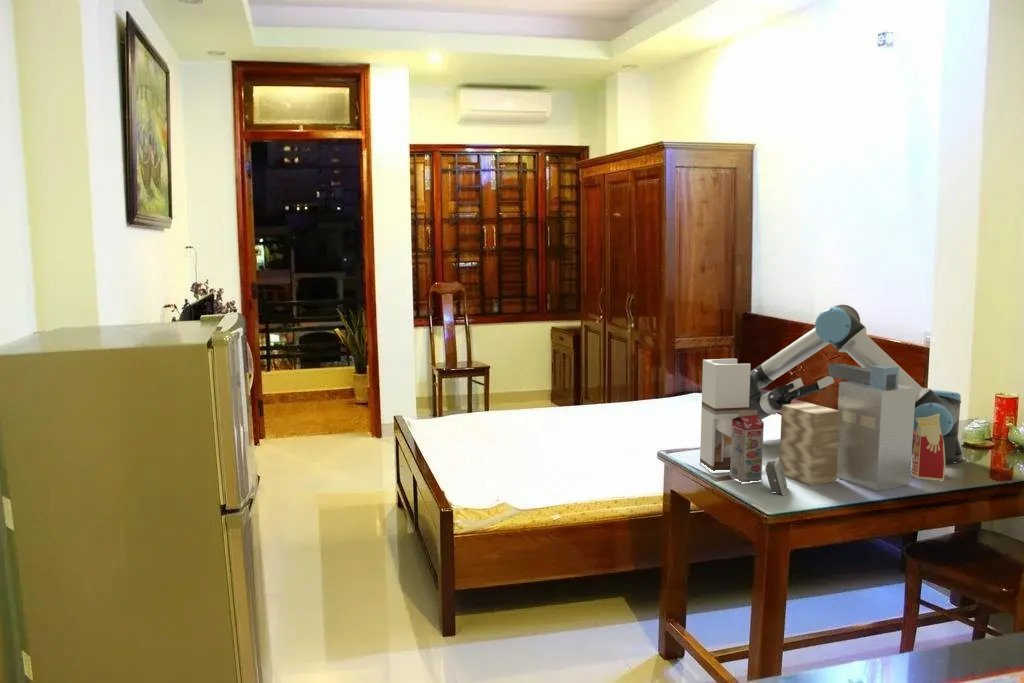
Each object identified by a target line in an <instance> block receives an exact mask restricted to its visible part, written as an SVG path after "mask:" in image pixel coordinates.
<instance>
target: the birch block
mask: <svg viewBox="0 0 1024 683" xmlns="http://www.w3.org/2000/svg"><path fill="white" fill-rule="evenodd" d="M780 417H781V418H780V441H779V442H780V443H779V458H780V460H781V463H782V467H783V470H784V474H786V475H785V476H787V475H788V476H787V477H789V476H790V478H792V477H793V478H792V479H794V480H797V481H800V482H802V483H804V484H805V483H806V484H808V485H811V486H814V485H820V484H825V483H831V482H836V481H837V480H838V479H837V478H838V477H837V462H838V444H839V425H840V411H838V409H835V408H830V407H826V406H822V405H818V404H815V403H812V402H811V403H810V402H808V401H804V402H796V403H791V404H786V405H782V410H781V415H780Z"/></svg>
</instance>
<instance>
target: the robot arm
mask: <svg viewBox="0 0 1024 683" xmlns="http://www.w3.org/2000/svg"><path fill="white" fill-rule="evenodd" d="M830 344H831V345H832V346H833V348H835V349H836V350H837V352H839V353H847V355H848V356H850V357H851V358H852V359H853V360H854V361H855V362H856V363H857V364H858V366H859V367H862V368H867V369H871V366H876V365H890V366H896V367H899V375H898V384H901V385H906V386H911V387H916V397H915V412H914V427H913V431H914V432H916V430H917V426H918V423H917V420H916V419H915V418H922V417H929V416H933V415H938V414H940V417H939V423H940V428H941V433H942V437H943V441H944V449H945V464H955V463H954V462H959V461H961V460H962V461H963V454H964V453H963V449H962V447H961V443H960V441H959V426H960V414H961V413H960V412H961V404H962V400H961V399H962V398H961V394H960V393H959V392H955V391H948V390H939V389H938V390H937V389H931V388H927V387H926V388H925V387H922V386H921V385H920V384H919V383H918V382H916V380H914V378H913V377H911V376H910V375H909V374H908V373H907V372H906V371H905V370H904V369H903V368H902V367H901V366H900V365H899V364H898V363H896V361H895V360H893V358H892V357H891V356H889V355H888V354H887V352H885V350H883V349H882V348H881V347H880V346H879V345H878V344H877V343H876V342H875V341H874V340H873V339H872V338H871V337H870V336H869V335H868V334H867V327H866V326H865V325H863V323H862V322H861V318H860V314H859V312H858V311H857V310H856V309H855V308H854V307H852V306H850V305H848V304H837V305H834V306H829V307H826V308H825V309H823V310H822V311H821V312H819V314H817V317H816V319H815V321H814V328H812V329H811V330H809V331H808V332H806V333H805V334H803V335H802V336H800V337H798V338H797V339H796V340H795V341H793V342H792V343H790V344H789V345H787V346H786V347H785V348H783V349H781V350H780V351H779V352H777V353H776V354H774V355H773V356H771V357H769V359H766V360H765V361H764V362H762V363H761V364H759V365H758V366H756V367H754V368H753V369H752V370H750V392H749V410H757V416H758V417H759V418H760V419H761V420H762V421H763V420H764V419H765V418H768V417H770V416H772V415H776V413H778V412H780V411H782V405H786V404H792V401H794V400H796V399H802V398H804V397H807V396H809V395H812V394H814V393H817V392H820V391H824V390H826V387H828V386H830V385H832V384H834V383H835V380H834V377H829V376H828V375H827V376H826V377H823V378H821V379H817V380H816V381H817V382H815V383H811V384H808V385H804V383H803V380H802V378H801V377H799V378H796V379H794V380H792V381H790V382H789V383H787V384H783V385H781V386H780V385H778V386H777V387H776V388H773V389H772V390H770V391H768V392H766V393H763V392H762V391H761V390H762V389H764V388H766V387H767V386H768V385H769V384H771V383H772V382H774V381H775V380H776V379H777V378H780V377H781V376H782V375H784V374H785V373H787V372H788V371H790V370H792V369H793V368H794V367H796V366H797V365H800V364H801V363H802V362H804V361H805V360H807V359H808V358H810V357H812V356H813V355H814V354H816V353H817V352H819V351H820V350H822V349H823V348H825V347H826V346H828V345H830ZM913 449H914V445H912V457H913ZM962 461H961V462H962ZM959 463H960V462H959Z"/></svg>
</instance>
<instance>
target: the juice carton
mask: <svg viewBox="0 0 1024 683" xmlns="http://www.w3.org/2000/svg"><path fill="white" fill-rule="evenodd" d="M764 424H765V423H764V421H763V419H762V420H761V419H760V418H759V417H758V416H757V410H748V411H739V416H738V417H736V418H734V419H733V420H732V441H731V470H730V473H729V474H730V475H731V476H732V477H734V478H736V479H738V480H739V481H741V482H750V481H759V480H761V481H762V479H763V478H762V475H763V455H764V454H763V453H764V452H763V450H764V449H763V448H764V427H765V426H764Z"/></svg>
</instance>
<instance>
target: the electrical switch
mask: <svg viewBox="0 0 1024 683" xmlns="http://www.w3.org/2000/svg"><path fill="white" fill-rule="evenodd" d="M764 469H765V473H766V477H767V480H768V484H769V489H770V492H771V493H772V492H776V493H775V494H781V495H782V494H785V493H787V490H786V489H788V484H787V478H786V475H785V474H784V470H783V467H782V463H781V460H780V457H776V459H775V460H773V461H767V463H766V466H765V468H764ZM785 495H786V494H785Z"/></svg>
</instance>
